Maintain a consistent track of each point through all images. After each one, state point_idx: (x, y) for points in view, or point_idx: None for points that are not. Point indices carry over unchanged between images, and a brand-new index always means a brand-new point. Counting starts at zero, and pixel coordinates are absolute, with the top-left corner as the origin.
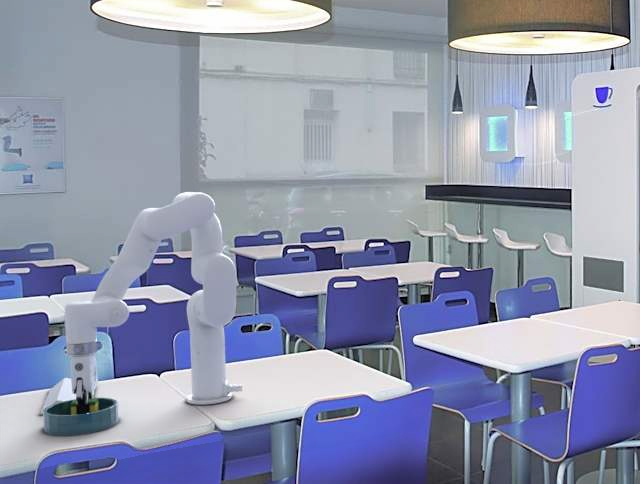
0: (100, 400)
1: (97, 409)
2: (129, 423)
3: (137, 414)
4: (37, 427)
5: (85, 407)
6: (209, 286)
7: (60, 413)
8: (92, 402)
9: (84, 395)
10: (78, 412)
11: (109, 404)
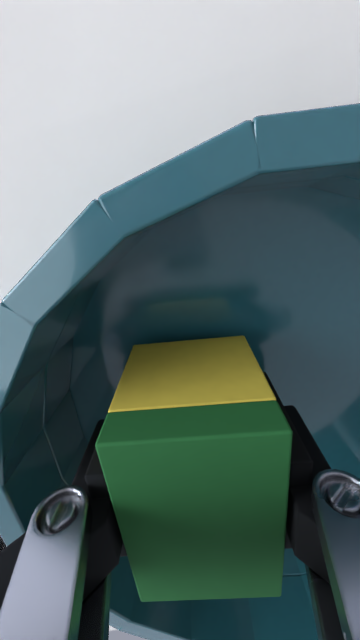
0: (14, 403)
1: (173, 366)
2: (325, 26)
3: (21, 32)
4: None
5: (327, 462)
6: None
7: None
8: (290, 449)
9: (84, 588)
10: None
11: (79, 290)
